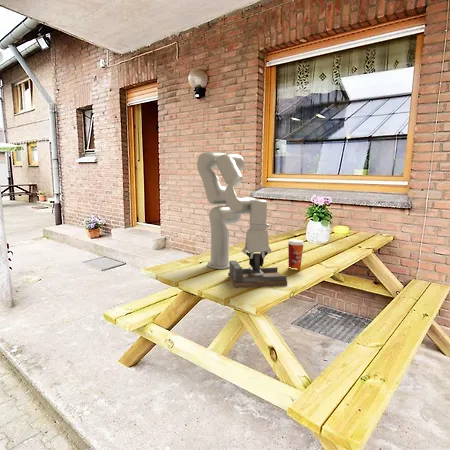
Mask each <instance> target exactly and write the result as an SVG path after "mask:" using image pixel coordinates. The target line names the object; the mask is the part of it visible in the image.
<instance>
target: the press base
mask: <svg viewBox="0 0 450 450" xmlns="http://www.w3.org/2000/svg"><path fill="white" fill-rule="evenodd" d="M229 262H230V268H229V271H228V272H227V277H228V276H229V277H228V278H230V279H229V280H230V282H231V284H232V286H233V288H234V289H240V288H239V287H244V288H257V287H258V288H259V287H261V288H262V287H280V286H288V280H287V279H288V277H287V275H285V274H284V275H281V274H280V273H279V272H278V266H276V267H274V266H273V267H260V270H261V271H262V272H263V273H264V276H259V277H252V276H251V275H250V274H249V267H248V268H242V266H241V265H240V264H239V262H238V261H237V260H229Z"/></svg>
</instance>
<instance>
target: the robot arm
mask: <svg viewBox="0 0 450 450" xmlns="http://www.w3.org/2000/svg"><path fill="white" fill-rule="evenodd" d="M196 167H197V171H198V174H199V176H200V178H201V180H202V183H203V188H204V192H205V194H206V199H207V202H208V203H209V204H210V205H212V206H214V207H212V208H210V210H209V212H208V213H209V214H208V217H209V223H210V261H209V262H207V267H209V268H210V269H215V270H226V269H230V259H229V257H230V256H229V255H230V231H229V229H228V227H227V225H230V224H236V223H238V222H240V220H241V219H242V215H249V225H248V226H249V229H247V230H246V234H245V235H246V236H245V242H244V243H245V244H244V247H243V249H242V251H241V252H242V253H243V254H244V255H246V256H248V258H249V261H248V263H249V264H248V265H249V267H253V266H254V259H253V253H260V254H261V260H260V268H263V267H264V266H263V265H264V260H265V257H266V256H267V255H268V254H270V253H271V252H272V249H271V247H270V245H269V240H270V239H269V234H268V233H269V232H268V229H267V228H269V227H270V224H269V223H267V217H268V216H267V215H268V201H267V200H265V199H259V198H255V197H250V196H249V197H238V195H237V193H236V191H235V188H236V187H238V186H239V185H241V183H242V182H243V180H244V179H243V178H244V177H243V175H242V173H241V171H242V170H244V168H245V160H244V158H243V156H241V155H240V154H236V153H235V154H234V153H231V152H230V153H229V152H217V151H216V152H215V151H207V152H206V151H205V152H203V153H200V154H199V156H198V157H197V161H196ZM217 169H218V171H219V172H220V174H221V176H222V178H223V180H224V182H225V186H222V185H221V183H220V179H219V176H218V175H217V174H216V172H215V171H214V170H217Z"/></svg>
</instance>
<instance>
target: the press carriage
mask: <svg viewBox="0 0 450 450" xmlns="http://www.w3.org/2000/svg"><path fill="white" fill-rule="evenodd" d="M253 259H254V266H253V267H251V266H249V267H248V268H249V274H250V275H251V276H252V277H259V276H264V273H263V272H262V271H261V270H260V268H261V266H260V260H261V254H260V252H254V253H253Z"/></svg>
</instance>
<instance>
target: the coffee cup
mask: <svg viewBox="0 0 450 450" xmlns="http://www.w3.org/2000/svg"><path fill="white" fill-rule="evenodd" d="M287 245H288V252H287V253H288V268H289V267H291V268H297V269H298V270H297V271H300V270H301V268H302V267H301V265H302V258H303V251H304V245H305V243H304V240H302V239H294V238H293V239H292V238H291V239H289V240H288V242H287Z"/></svg>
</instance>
